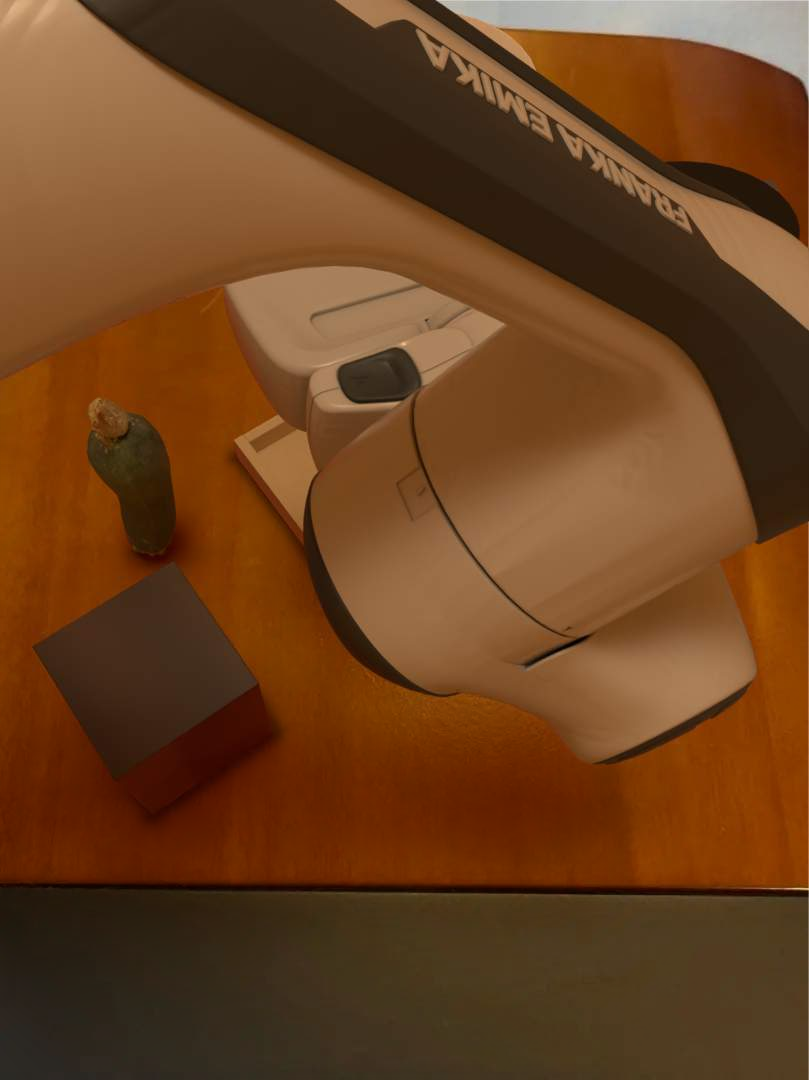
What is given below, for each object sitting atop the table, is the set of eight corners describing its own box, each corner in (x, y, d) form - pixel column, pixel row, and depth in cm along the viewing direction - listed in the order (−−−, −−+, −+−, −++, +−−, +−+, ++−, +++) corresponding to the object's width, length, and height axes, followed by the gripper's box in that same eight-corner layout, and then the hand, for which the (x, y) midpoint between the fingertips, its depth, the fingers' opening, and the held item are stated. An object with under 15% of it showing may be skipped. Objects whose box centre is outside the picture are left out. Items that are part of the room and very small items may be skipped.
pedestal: (153, 814, 63) (114, 780, 52) (82, 701, 66) (31, 646, 55) (272, 732, 66) (259, 683, 55) (200, 627, 68) (173, 559, 57)
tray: (333, 586, 70) (333, 572, 68) (236, 457, 74) (233, 439, 71) (515, 468, 75) (520, 451, 72) (415, 352, 78) (417, 332, 76)
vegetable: (154, 505, 72) (92, 344, 53) (206, 531, 71) (161, 376, 53) (120, 556, 70) (44, 406, 52) (173, 582, 69) (115, 440, 51)
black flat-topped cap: (549, 225, 86) (561, 163, 79) (753, 207, 86) (783, 144, 79) (577, 370, 80) (593, 317, 74) (794, 349, 81) (831, 295, 74)
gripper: (741, 280, 42) (599, 56, 47) (280, 418, 38) (178, 158, 43) (693, 364, 48) (571, 157, 53) (288, 492, 44) (198, 255, 49)
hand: (391, 158), depth 48 cm, fingers closed on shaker, 4 cm apart
